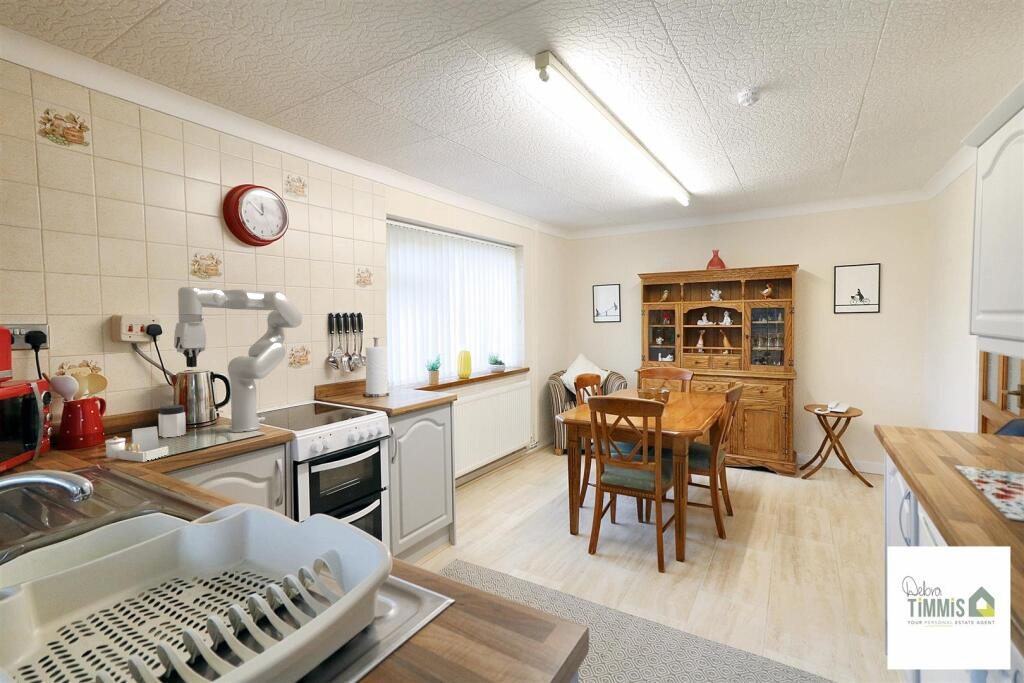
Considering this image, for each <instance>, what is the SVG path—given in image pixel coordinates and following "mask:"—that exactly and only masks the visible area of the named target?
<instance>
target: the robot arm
mask: <svg viewBox="0 0 1024 683" xmlns="http://www.w3.org/2000/svg"><path fill="white" fill-rule="evenodd" d="M177 296H178V297H177V300H178V301H177V304H178V322H176V324H175V329H174V335H173V338H174V339H173V340H174V341H173V345H174V349H176V352H177V353H180V354H183V355H184V358H186V368H197V366H198V363H197V357H199V354H200V353H202V352H204V351H205V350H206V346H207V334H206V327H205V324H204V322H203V320H205V317H204V316H203V308H211V309H212V308H213V309H215V308H216V309H228V310H229V309H230V310H243V311H244V310H245V311H247V310H248V311H249V310H250V311H270V312H269V313H268V315H267V320H266V321H267V331H266V332H265V333H264V334H263V335H262V336H261V337H260V338H259V339H258V340H257V341H255V342H254V343H253V344H252V345H251V346H250V347H249V349H248V353H247V354H248V356H244V355H243V356H242V355H241V356H237V357H233V358H232V359H231V360H230V361H229V363H228V365H227V373H228V378H229V381H230V382H229V383H230V406H231V407H230V408H231V409H230V411H231V412H230V413H231V414H230V415H231V416H230V417H231V426H228V427H227V429H226V430H228V431H227V432H229V431H230V432H229V433H244V432H243V431H247V432H252V431H253V432H254V431H257V430H260V429H261V427H262V426H261V424H260V422H264V421H266V417H265V416H261V417H259V416H257V415H258V413H257V410H258V409H257V384H256V382H255V380H262V379H264V378H266V377H267V376H268V375H269V374H270V373H272V372H273V371H274V370H275V369H276V368H277V367H278V366H279V364H280V363H281V362H282V361H283V360H284V358H285V357H286V356H285V355H286V347H285V346H284V342H285V338H286V337H285V328H286V329H288V328H289V329H290V328H291V329H295V328H298V327H299V326H300V325H301V324H302V321H303V315H302V314H301V312H300V310H299V309H298V308H297V307H296V306H295V304H294V303H293V302H292V301H291V300H290V299H289V298H288V296H286V295H285V294H284V293H282V292H280V291H263V290H262V291H261V290H250V289H222V290H221V289H219V288H216V287H211V288H210V287H205V288H204V287H202V288H199V287H190V286H189V287H188V286H183V287H179V288H178V290H177Z"/></svg>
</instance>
